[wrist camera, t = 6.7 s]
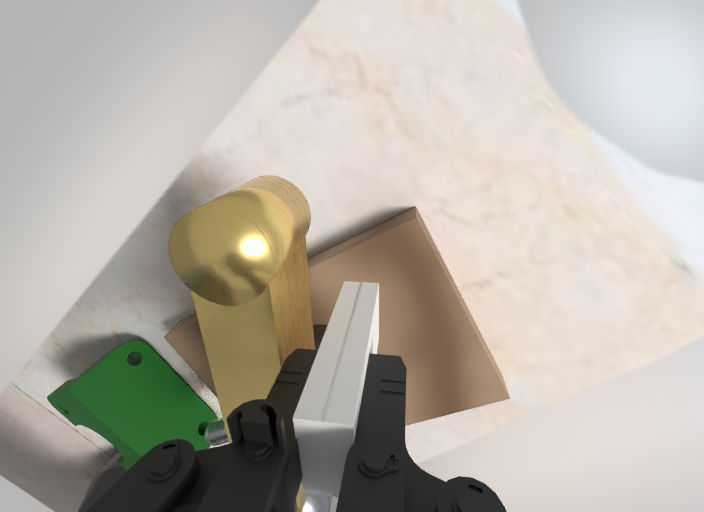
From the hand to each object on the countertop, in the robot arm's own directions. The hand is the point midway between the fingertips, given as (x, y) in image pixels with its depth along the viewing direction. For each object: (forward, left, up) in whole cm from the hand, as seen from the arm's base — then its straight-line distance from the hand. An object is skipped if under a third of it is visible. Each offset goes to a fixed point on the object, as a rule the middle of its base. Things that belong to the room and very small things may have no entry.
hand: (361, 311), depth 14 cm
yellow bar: (-4, -1, 0) cm, 4 cm away
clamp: (-24, -4, -8) cm, 26 cm away
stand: (-7, -6, -8) cm, 12 cm away
